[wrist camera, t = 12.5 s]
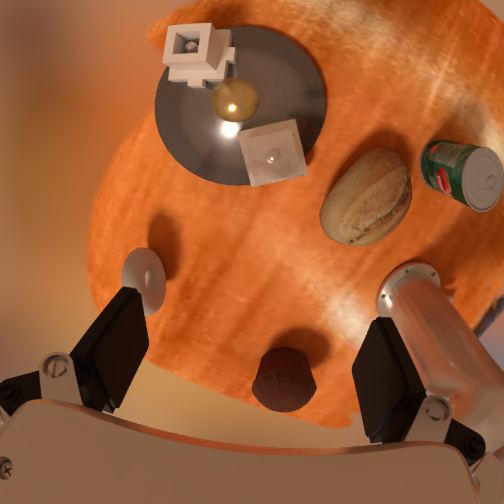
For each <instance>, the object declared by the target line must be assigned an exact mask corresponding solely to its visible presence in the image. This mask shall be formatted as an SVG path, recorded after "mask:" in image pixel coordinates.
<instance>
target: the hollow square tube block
mask: <svg viewBox="0 0 504 504" xmlns="http://www.w3.org/2000/svg"><path fill="white" fill-rule="evenodd" d="M231 41H232V33H231V30H226V29H221V30H216V29H215V28H214V26H213V25H212V23H197V24H183V25H173V26H168V31H167V37H166V43H165V49H164V56H163V64H165V65H167V66H169V67H170V70H169V78H168V80H170V81H172V82H188V85H187V86H189V87H191V88H206V81H207V82H222V81H223V80H226V79H227V73H228V65H229V64H236V58H237V50H236V48H235V47H231ZM189 42H195V43H196V44H197V45H198V46H199V47H198V53H188V52H187V51H186V50H185V45H186V44H187V43H189Z"/></svg>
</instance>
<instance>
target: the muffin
mask: <svg viewBox="0 0 504 504" xmlns="http://www.w3.org/2000/svg"><path fill="white" fill-rule="evenodd" d="M316 389H317V387H316V383H315V380H314V378H313V375H312V372H311V369H310V366H309V363H308V360H307V358H306V357H305V356H304V355H303V354H302V353H301V352H300V350H295V349H291V348H288V347H283V348H279V349H273V350H270V351H269V352H268V353H267V354H266V355H265V356H263V357H262V358H261V362H260V365H259V369H258V372H257V375H256V379H255V380H254V381H253V386H252V392H253V394H254V395H255V397H256V399H258V401H259V402H260V403H261V404H262V405H263V406H265V407H267V408H268V409H270V410H272V411H277V412H292V411H295V410H298V409H300V408H302V407H303V406H304V405H306V404H307V403H308V402H309V401H310V399H311V398H312V397H313V395H314V393H315V391H316Z"/></svg>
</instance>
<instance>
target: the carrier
mask: <svg viewBox="0 0 504 504" xmlns="http://www.w3.org/2000/svg"><path fill="white" fill-rule="evenodd" d="M222 29H226V30H231V33H232V41H231V47H235V48H236V50H237V58H236V64H229V65H228V73H227V79H226V80H223V81H222V82H207V81H206V88H191V87H189V86H187V85H188V82H172V81H170V80H168V78H169V70H170V67H169V66H167V67H166V69H165V71H164V72H163V75H162V77H161V79H160V81H159V85H158V88H157V91H156V98H155V118H156V124H157V128H158V131H159V134H160V136H161V139H162V141H163V143H164V144H165V146H166V148H167V150H168V151H169V152H170V153H171V155H172V156H173V157H174V158H175V159H176V160H177V161H178V162H179V163H180V164H181V165H182V166H183V167H184V168H186V169H187V170H188V171H190V172H192V173H193V174H195V175H197V176H199V177H201V178H203V179H206V180H208V181H212V182H215V183H219V184H225V185H239V186H241V185H251V186H252V187H256V186H260V185H264V184H269V183H273V182H278V181H282V180H287V179H292V178H296V177H301V176H306V175H308V171H307V167H306V162H305V158H304V157H305V156H306V155H307V153H308V152H309V151H310V149H311V148H312V147H313V145H314V144H315V142H316V140H317V138H318V136H319V134H320V131H321V128H322V125H323V122H324V117H325V108H326V99H325V91H324V87H323V83H322V80H321V77H320V75H319V72H318V70H317V68H316V67H315V65H314V63H313V62H312V60H311V59H310V58H309V57H308V56H307V54H306V53H305V52H304V51H303V50H302V49H301V48H300V47H299V46H297V45H296V44H295V43H293V42H292V41H290V40H289V39H287V38H285V37H284V36H282V35H280V34H278V33H275V32H272V31H269V30H266V29H262V28H257V27H248V26H235V27H228V28H222ZM218 30H221V29H218ZM198 47H199V46H198V45H197V44H196V43H195V42H189V43H187V44H186V45H185V50H186V51H187V52H188V53H198Z"/></svg>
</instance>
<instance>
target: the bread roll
mask: <svg viewBox="0 0 504 504" xmlns="http://www.w3.org/2000/svg"><path fill="white" fill-rule="evenodd" d="M411 199H412V187H411V178H410V172H409V171H408V169H407V167H406V164H405V162H404V160H403V158H402V157H401V155H400V154H399V153H398V152H397V151H396V150H394V149H392V148H389V147H377V148H374V149H371V150H369V151H368V152H366V153H365V154H363V155H362V156H361V157H360V158H358V159H357V160H356V161H355V162H354V163H353V164H352V165H351V166H350V168H349V169H348V170H347V171H346V172H345V173H344V174H343V175H342V177H341V178H340V179H339V180H338V181H337V182H336V184H335V185H334V186H333V187H332V189H331V190H330V192H329V193H328V195H327V196H326V198H325V200H324V201H323V204H322V207H321V210H320V214H319V215H320V223H321V226H322V229H323V231H324V232H325V234H326V235H327V236H328V237H329V238H330V239H332V240H334V241H336V242H338V243H340V244H344V245H351V246H367V245H372V244H375V243H377V242H379V241H381V240H382V239H384V238H385V237H387V236H388V235H389V234H390V233H391V232H393V231H394V230H395V229H396V228H397V226H398V225H399V224H400V223H401V222H402V220H403V219H404V217H405V215H406V213H407V211H408V209H409V207H410V203H411Z"/></svg>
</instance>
